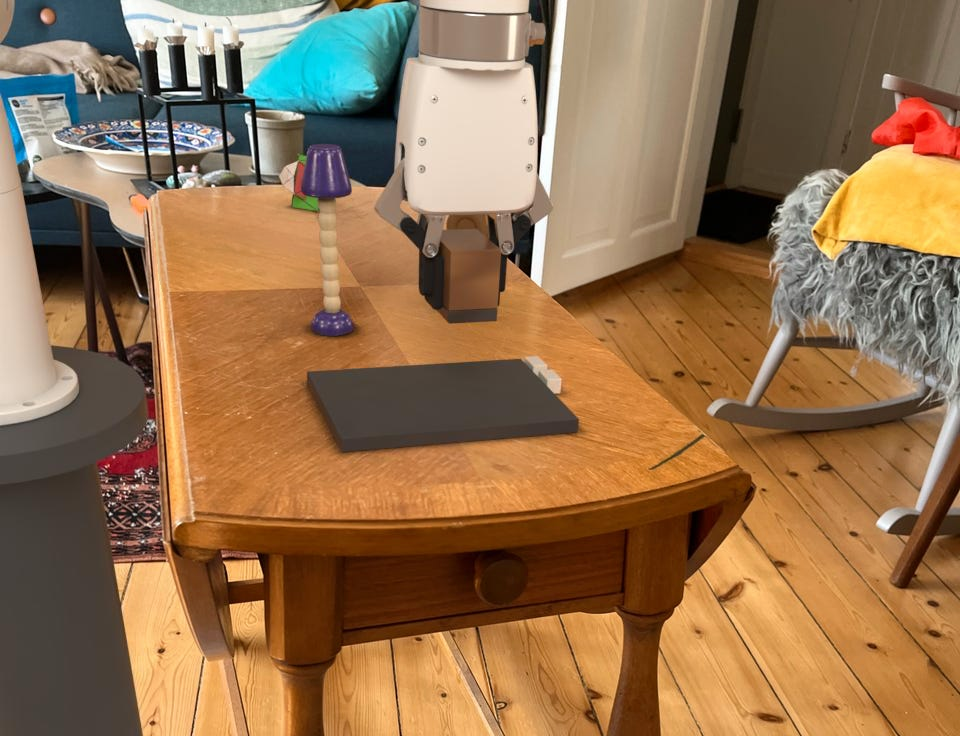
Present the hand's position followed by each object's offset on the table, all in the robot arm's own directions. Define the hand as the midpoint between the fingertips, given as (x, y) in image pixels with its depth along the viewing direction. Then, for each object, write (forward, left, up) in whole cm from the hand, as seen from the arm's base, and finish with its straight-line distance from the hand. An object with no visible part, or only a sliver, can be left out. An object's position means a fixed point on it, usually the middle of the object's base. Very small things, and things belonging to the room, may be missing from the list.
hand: (461, 300), depth 82 cm
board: (-1, +1, -9) cm, 10 cm away
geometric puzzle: (+1, +70, -10) cm, 71 cm away
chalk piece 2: (+9, +3, -9) cm, 13 cm away
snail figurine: (+10, +26, -10) cm, 29 cm away
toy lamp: (-6, +22, -10) cm, 25 cm away
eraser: (0, 0, -1) cm, 1 cm away
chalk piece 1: (+9, +7, -9) cm, 14 cm away
